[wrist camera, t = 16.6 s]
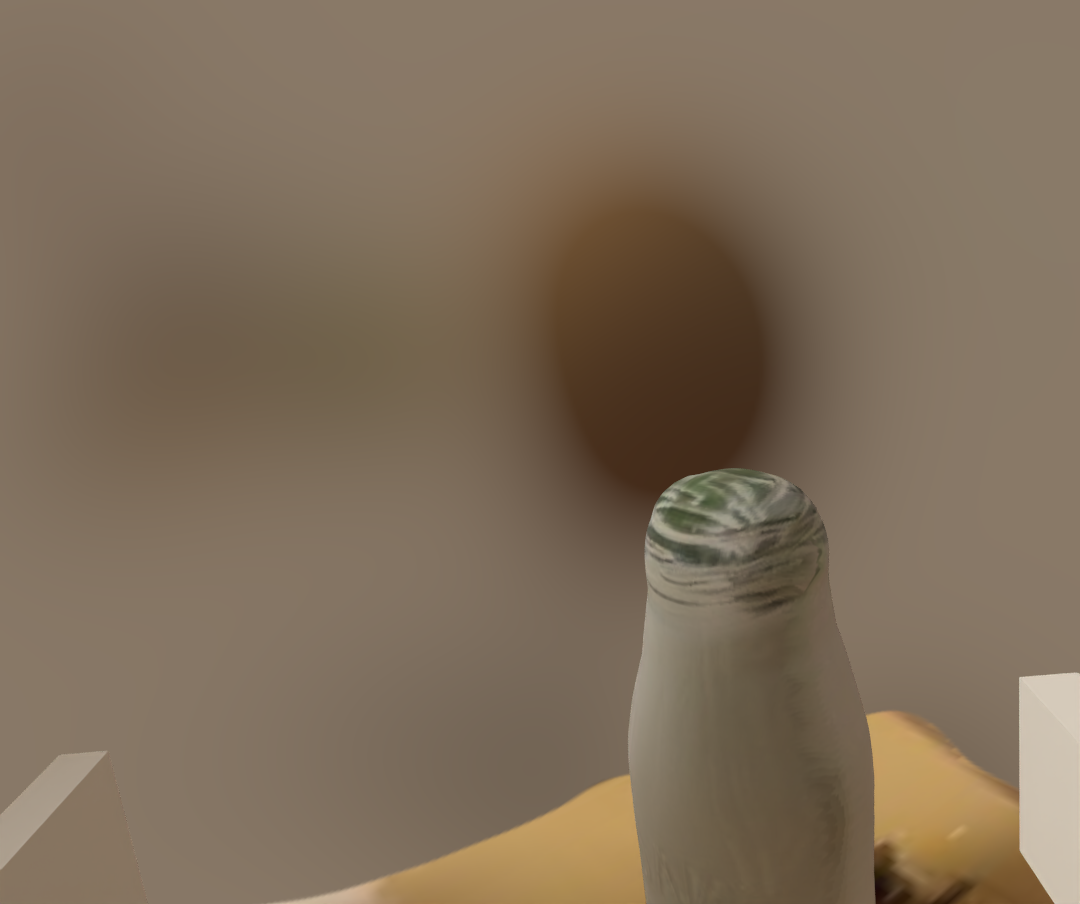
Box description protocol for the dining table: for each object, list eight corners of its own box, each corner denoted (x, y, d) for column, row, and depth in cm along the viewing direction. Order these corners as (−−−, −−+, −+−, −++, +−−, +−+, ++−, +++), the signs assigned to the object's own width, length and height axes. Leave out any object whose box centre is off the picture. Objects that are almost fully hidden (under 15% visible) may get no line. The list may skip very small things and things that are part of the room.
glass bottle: (623, 1048, 46) (553, 494, 39) (744, 925, 52) (703, 435, 46) (805, 1180, 39) (758, 530, 32) (919, 1019, 45) (900, 453, 39)
